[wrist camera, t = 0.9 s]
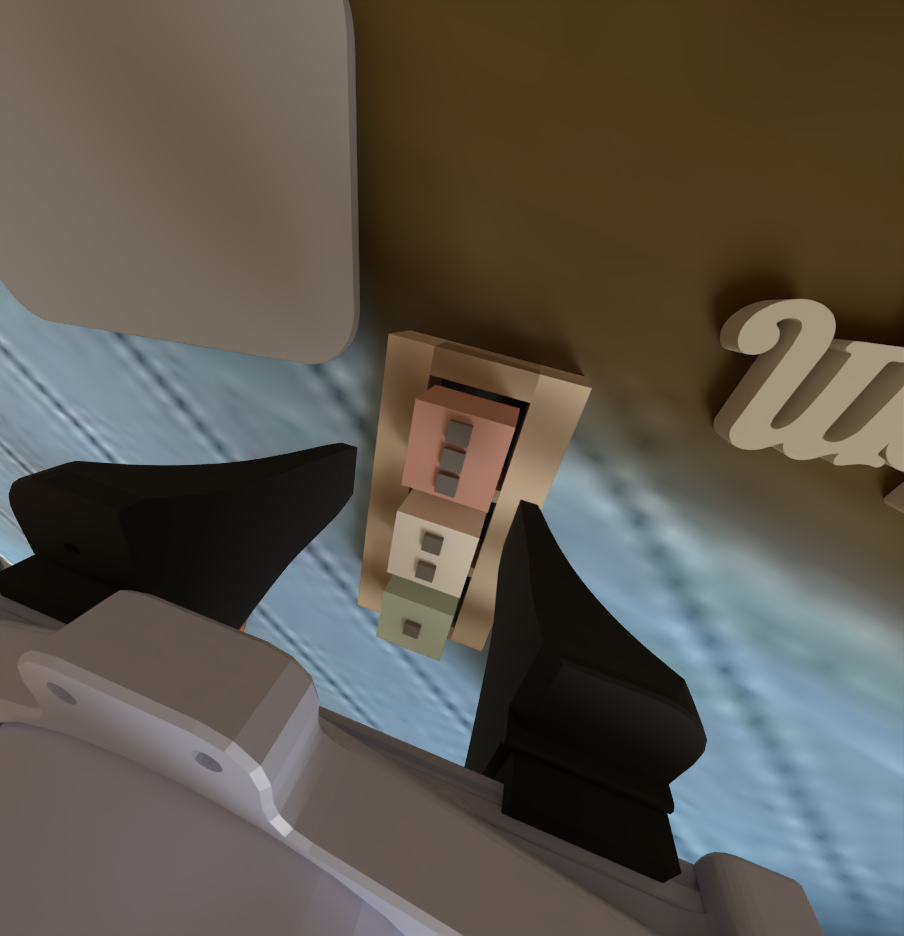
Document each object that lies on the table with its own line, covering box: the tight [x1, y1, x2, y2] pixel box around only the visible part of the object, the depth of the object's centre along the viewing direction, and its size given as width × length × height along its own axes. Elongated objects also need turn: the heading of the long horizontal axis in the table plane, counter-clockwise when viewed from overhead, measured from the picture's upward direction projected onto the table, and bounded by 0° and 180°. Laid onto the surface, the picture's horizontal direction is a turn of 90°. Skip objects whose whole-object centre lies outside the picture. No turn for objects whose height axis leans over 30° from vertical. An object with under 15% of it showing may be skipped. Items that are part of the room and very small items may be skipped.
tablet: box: [0, 0, 360, 364], centre depth 18 cm, size 16×26×2 cm, turn 84°
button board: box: [358, 330, 592, 652], centre depth 22 cm, size 20×10×3 cm, turn 167°
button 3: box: [401, 385, 520, 513], centre depth 16 cm, size 4×4×3 cm
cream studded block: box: [387, 489, 487, 598], centre depth 19 cm, size 4×4×3 cm
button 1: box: [376, 574, 459, 661], centre depth 22 cm, size 4×4×3 cm
